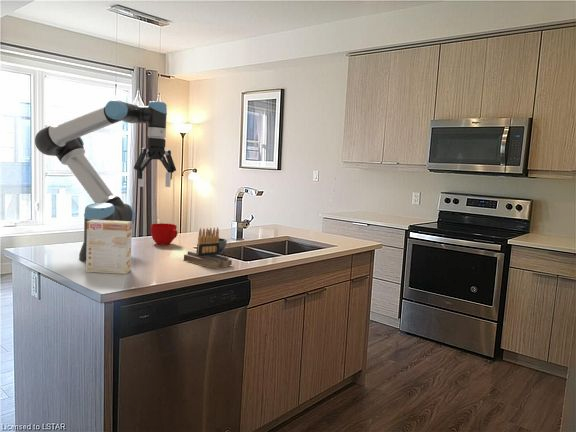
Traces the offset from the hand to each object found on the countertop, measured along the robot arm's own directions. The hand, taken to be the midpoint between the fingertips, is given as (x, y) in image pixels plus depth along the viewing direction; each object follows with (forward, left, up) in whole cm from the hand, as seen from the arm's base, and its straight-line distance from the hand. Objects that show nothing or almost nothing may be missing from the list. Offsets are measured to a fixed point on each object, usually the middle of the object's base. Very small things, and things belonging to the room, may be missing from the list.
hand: (154, 186), depth 204 cm
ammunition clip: (+13, -22, -28) cm, 38 cm away
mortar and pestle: (+30, -8, -32) cm, 45 cm away
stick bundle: (+13, -22, -32) cm, 41 cm away
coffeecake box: (-28, -12, -32) cm, 44 cm away
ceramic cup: (+24, +23, -32) cm, 46 cm away
